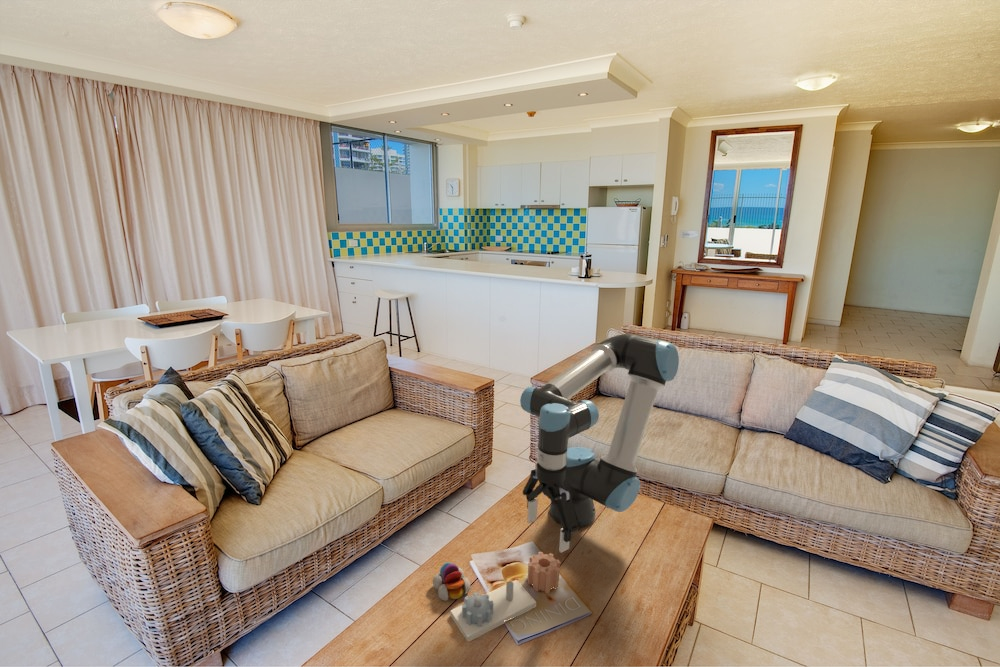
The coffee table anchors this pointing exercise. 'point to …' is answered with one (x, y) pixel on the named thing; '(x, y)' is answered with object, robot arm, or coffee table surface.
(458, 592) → the white-domed colorful disc toy
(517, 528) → the coffee table surface
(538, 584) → the gear
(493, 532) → the coffee table surface
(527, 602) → the gear board
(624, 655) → the coffee table surface
